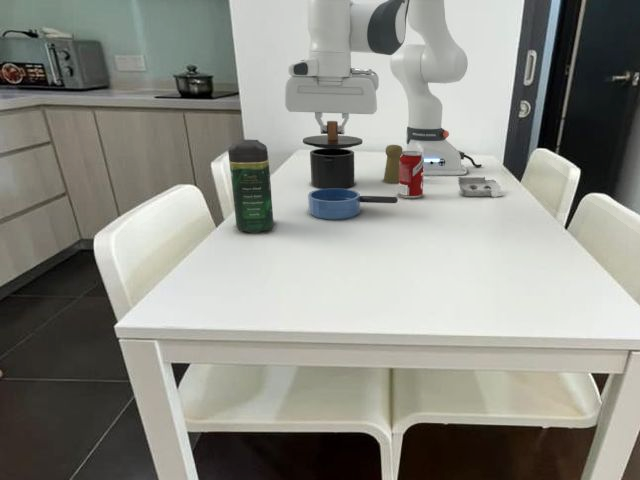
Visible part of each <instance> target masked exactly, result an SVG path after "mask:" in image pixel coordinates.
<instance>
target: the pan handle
mask: <svg viewBox="0 0 640 480" xmlns="http://www.w3.org/2000/svg"><path fill="white" fill-rule="evenodd" d="M398 201H399V199H398V197H396V196H387V195H385V196H382V195H381V196H380V195H360V203H367V204H368V203H369V204H371V203H372V204H397V203H398Z"/></svg>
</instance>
